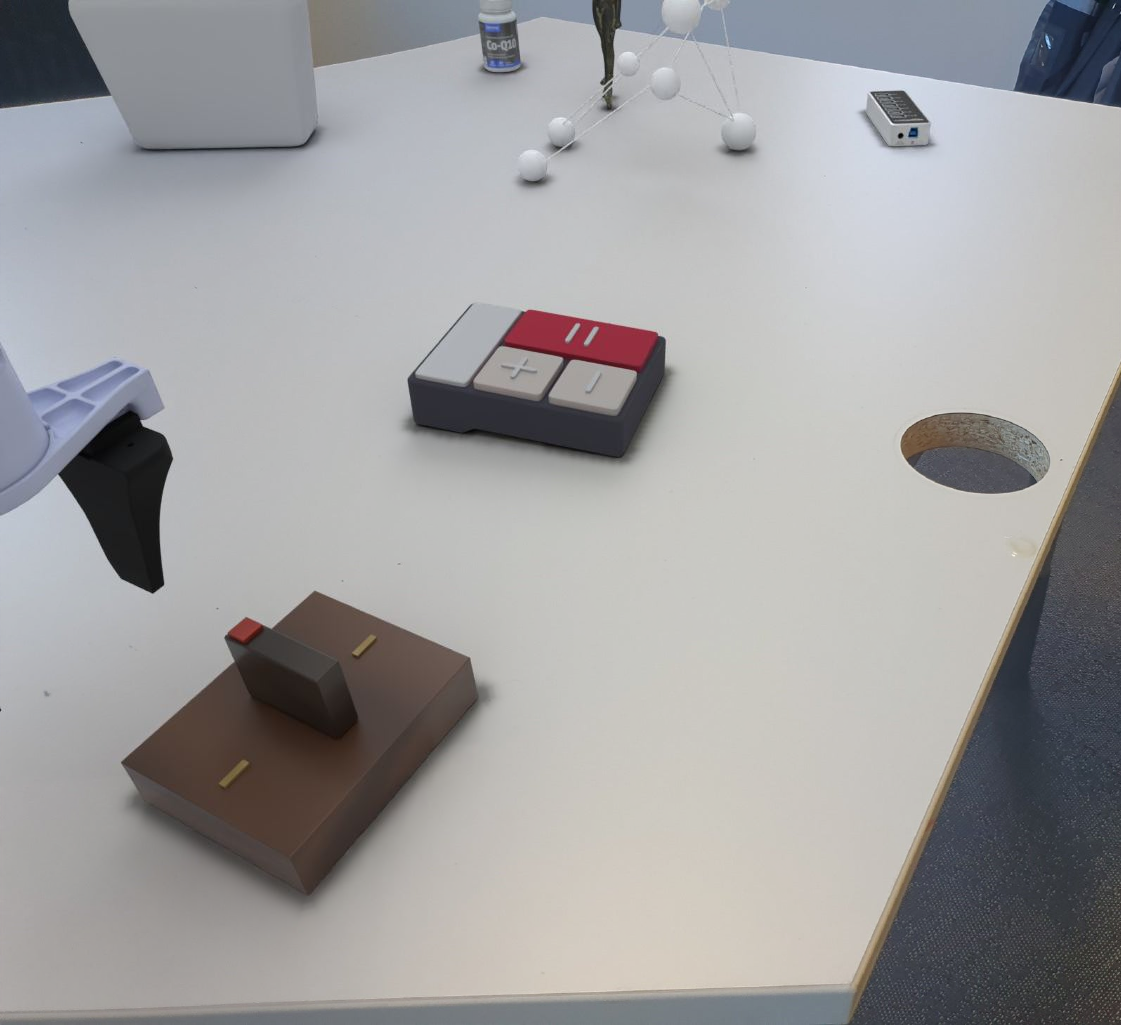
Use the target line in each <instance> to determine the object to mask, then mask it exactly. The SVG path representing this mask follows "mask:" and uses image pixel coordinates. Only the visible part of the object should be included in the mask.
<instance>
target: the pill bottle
mask: <svg viewBox="0 0 1121 1025" xmlns="http://www.w3.org/2000/svg"><path fill="white" fill-rule="evenodd" d="M478 3H479V4H478V5H479V9H480V10H481V11H480V13H479V14H478V17H477V21H478V28H479V35H480V36H479V37H480V44H481V53H482V61H483V67H484V69H485V70H487V71H489V72H493V73H508V72H514V71H517V70H519V68H520V67H521V66H522V61H521V51H520V40H519V31H518V20H517V14H516V13H515V11H513V10H512V9H513V0H478Z"/></svg>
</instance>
